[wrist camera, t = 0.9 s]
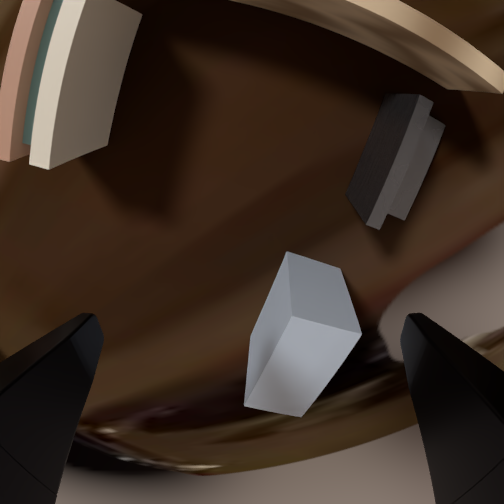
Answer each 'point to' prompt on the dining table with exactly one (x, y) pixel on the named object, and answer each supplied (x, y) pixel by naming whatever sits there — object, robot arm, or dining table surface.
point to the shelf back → (399, 38)
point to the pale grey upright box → (300, 337)
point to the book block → (63, 78)
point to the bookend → (395, 158)
